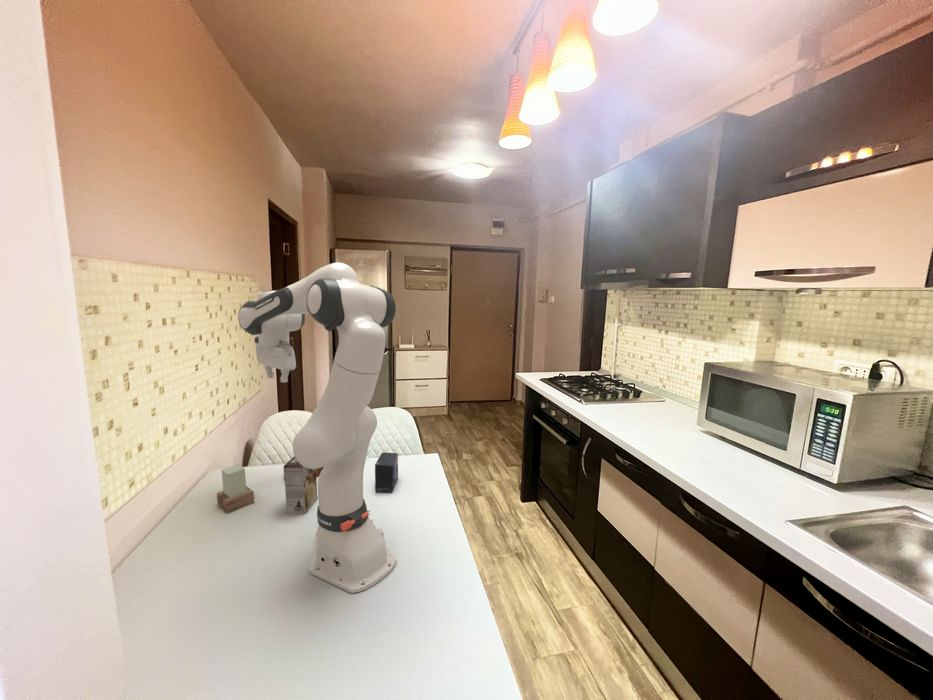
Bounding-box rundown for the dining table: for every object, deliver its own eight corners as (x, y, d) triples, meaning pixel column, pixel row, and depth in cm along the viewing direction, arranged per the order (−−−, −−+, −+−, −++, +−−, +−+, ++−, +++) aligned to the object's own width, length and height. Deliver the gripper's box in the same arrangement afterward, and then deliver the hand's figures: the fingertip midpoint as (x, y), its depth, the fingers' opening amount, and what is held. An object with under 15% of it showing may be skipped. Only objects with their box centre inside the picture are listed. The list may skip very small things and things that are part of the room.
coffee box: (299, 498, 128) (296, 453, 126) (318, 498, 128) (315, 453, 126) (286, 513, 119) (282, 465, 117) (306, 514, 119) (303, 466, 117)
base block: (254, 502, 125) (253, 491, 125) (227, 513, 119) (226, 501, 118) (244, 494, 130) (243, 483, 129) (217, 504, 124) (216, 493, 123)
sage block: (246, 491, 124) (244, 468, 123) (229, 498, 120) (227, 474, 119) (240, 486, 127) (238, 464, 126) (223, 492, 123) (221, 469, 122)
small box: (393, 493, 132) (392, 465, 130) (374, 493, 132) (373, 464, 130) (399, 478, 142) (398, 452, 141) (381, 478, 142) (381, 451, 141)
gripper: (299, 341, 123) (302, 383, 125) (270, 336, 136) (272, 374, 138) (280, 343, 118) (283, 386, 120) (251, 337, 131) (254, 377, 133)
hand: (277, 380), depth 129 cm, fingers open, 8 cm apart
